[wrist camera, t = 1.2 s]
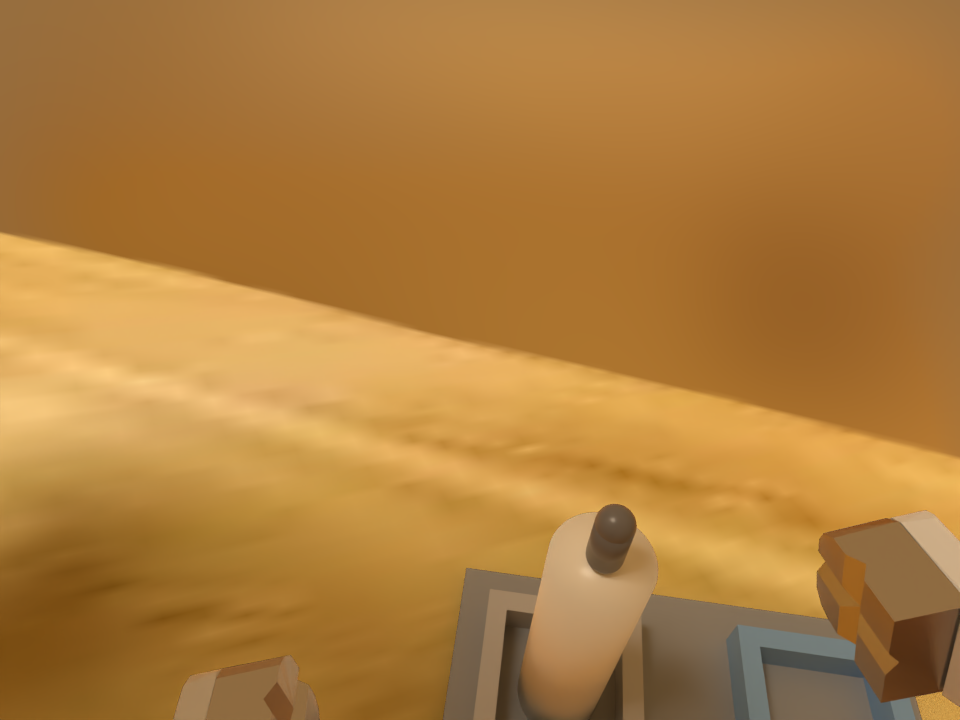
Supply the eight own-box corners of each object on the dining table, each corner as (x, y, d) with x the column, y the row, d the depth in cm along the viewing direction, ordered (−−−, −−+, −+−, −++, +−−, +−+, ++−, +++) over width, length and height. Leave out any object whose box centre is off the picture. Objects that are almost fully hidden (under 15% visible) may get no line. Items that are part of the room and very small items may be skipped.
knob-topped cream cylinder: (513, 727, 34) (555, 561, 22) (520, 646, 37) (561, 457, 24) (594, 740, 34) (684, 579, 21) (596, 657, 37) (676, 472, 24)
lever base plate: (428, 815, 32) (427, 800, 30) (465, 576, 41) (467, 550, 38) (960, 902, 31) (1000, 894, 29) (887, 636, 39) (913, 613, 37)
